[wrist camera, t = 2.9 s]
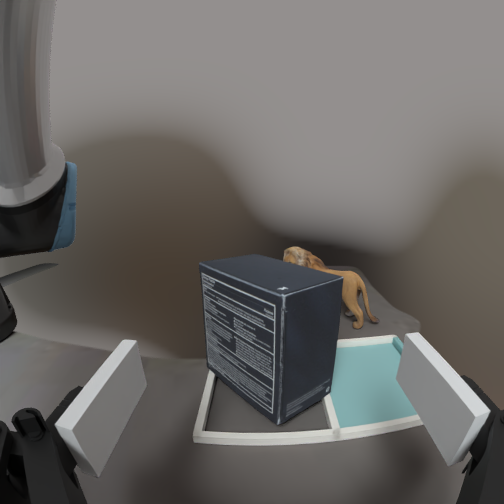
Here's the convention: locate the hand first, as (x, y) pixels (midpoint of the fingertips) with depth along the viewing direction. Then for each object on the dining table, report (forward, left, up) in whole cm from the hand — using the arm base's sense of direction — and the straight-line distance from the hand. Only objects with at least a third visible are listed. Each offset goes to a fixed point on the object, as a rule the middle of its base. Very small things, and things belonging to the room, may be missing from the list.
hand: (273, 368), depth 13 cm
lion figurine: (+8, +26, -9) cm, 29 cm away
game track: (+5, +10, -9) cm, 14 cm away
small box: (0, +10, -9) cm, 13 cm away
